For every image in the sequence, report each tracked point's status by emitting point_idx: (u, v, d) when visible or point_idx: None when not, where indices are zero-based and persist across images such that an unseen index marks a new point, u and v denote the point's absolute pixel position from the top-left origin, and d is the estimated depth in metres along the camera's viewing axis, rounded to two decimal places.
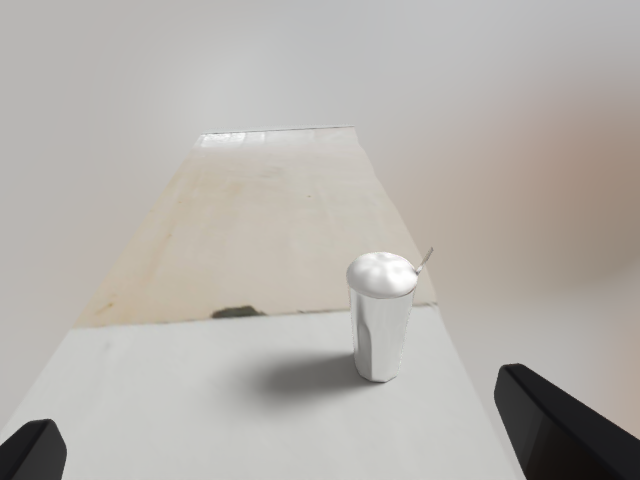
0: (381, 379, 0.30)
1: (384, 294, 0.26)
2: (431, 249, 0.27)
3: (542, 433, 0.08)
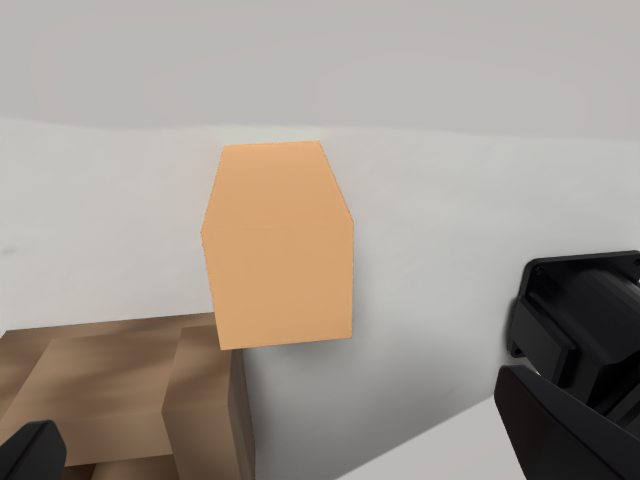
0: None
1: None
2: None
3: (542, 433, 0.08)
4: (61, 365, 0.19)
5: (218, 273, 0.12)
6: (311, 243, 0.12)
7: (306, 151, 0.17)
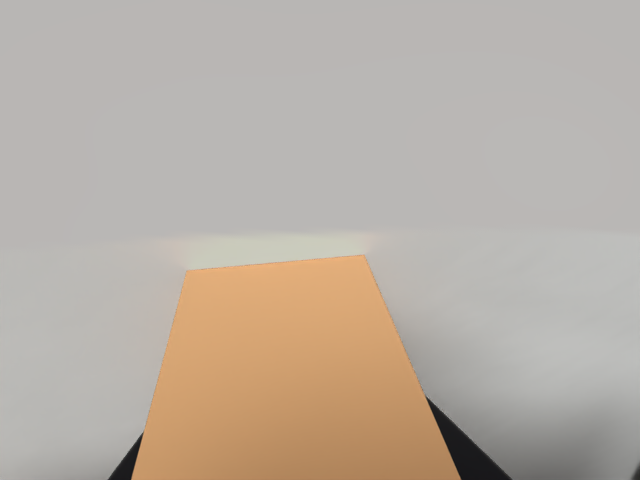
0: None
1: None
2: None
3: None
4: None
5: None
6: None
7: (346, 293, 0.09)
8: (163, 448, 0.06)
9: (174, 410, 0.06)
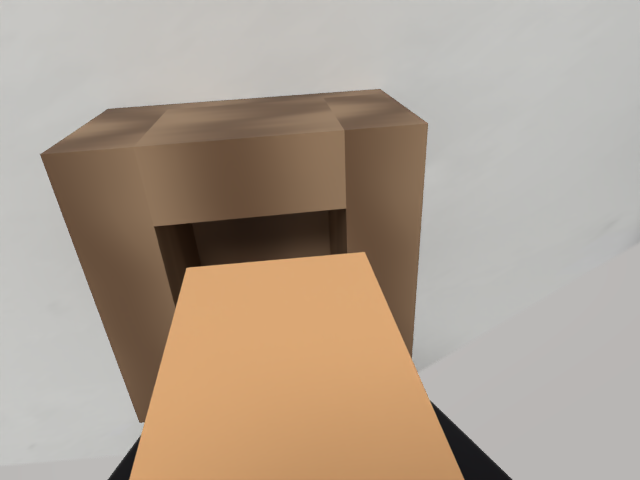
0: None
1: None
2: None
3: None
4: (191, 118, 0.15)
5: None
6: None
7: (347, 290, 0.09)
8: (162, 444, 0.06)
9: (173, 406, 0.06)
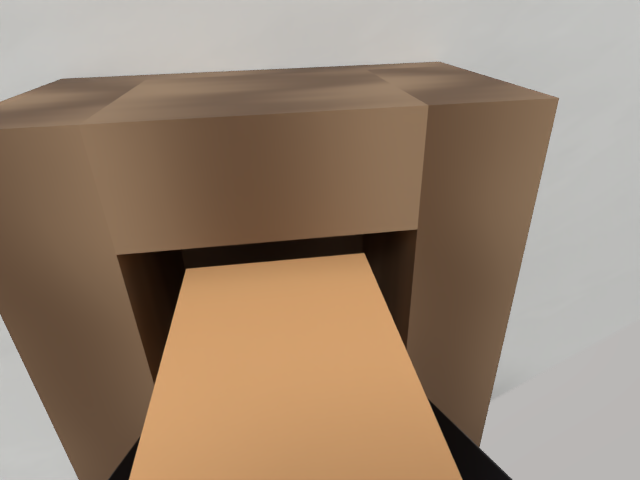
0: None
1: None
2: None
3: None
4: (178, 89, 0.10)
5: None
6: None
7: (346, 291, 0.09)
8: (162, 446, 0.06)
9: (173, 408, 0.06)
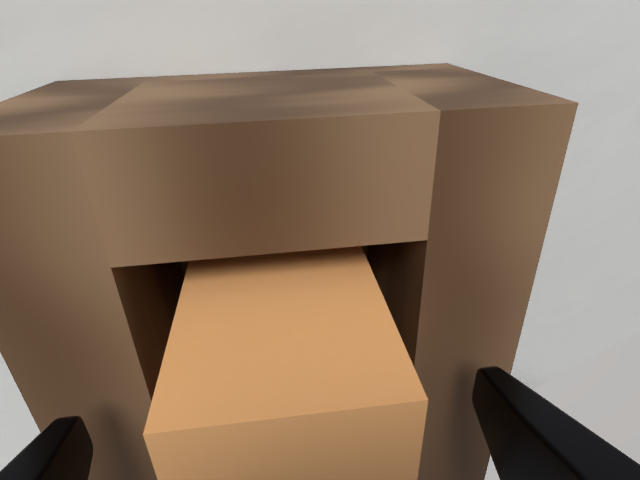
0: None
1: None
2: None
3: (515, 437, 0.08)
4: (177, 93, 0.10)
5: None
6: (350, 436, 0.06)
7: None
8: (197, 285, 0.09)
9: (202, 269, 0.10)
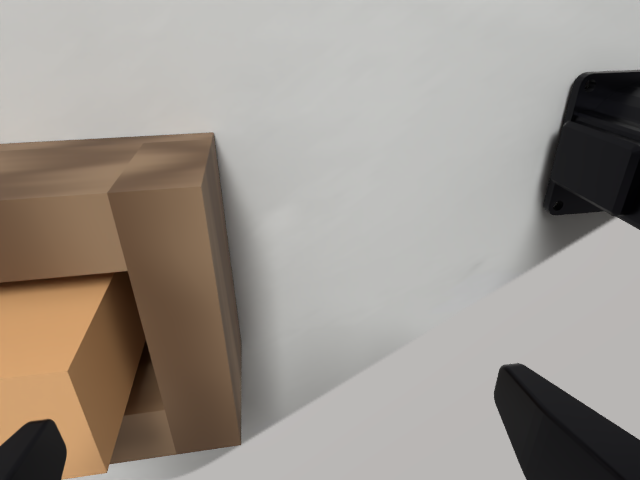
0: None
1: None
2: None
3: (542, 433, 0.08)
4: None
5: None
6: (25, 393, 0.11)
7: None
8: None
9: None
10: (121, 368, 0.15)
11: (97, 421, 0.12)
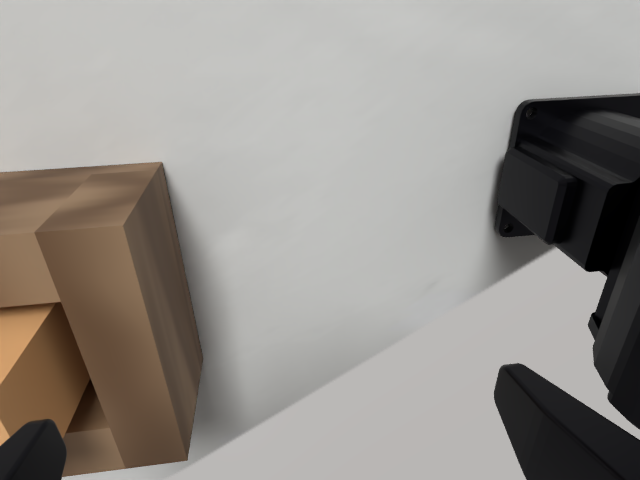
0: None
1: None
2: None
3: (542, 433, 0.08)
4: None
5: None
6: None
7: None
8: None
9: None
10: (63, 390, 0.15)
11: None
